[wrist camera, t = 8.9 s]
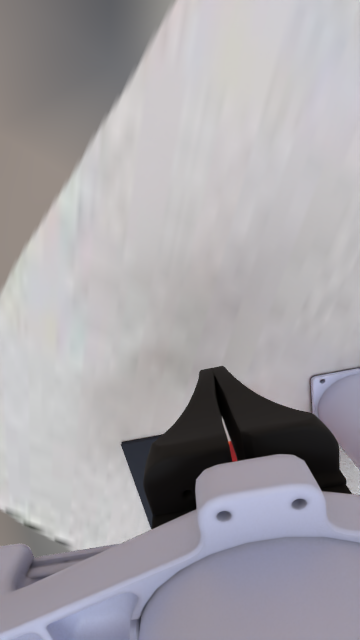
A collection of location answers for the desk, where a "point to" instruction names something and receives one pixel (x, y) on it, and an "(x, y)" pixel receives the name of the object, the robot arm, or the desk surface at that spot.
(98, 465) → the desk surface
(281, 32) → the desk surface
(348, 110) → the desk surface
